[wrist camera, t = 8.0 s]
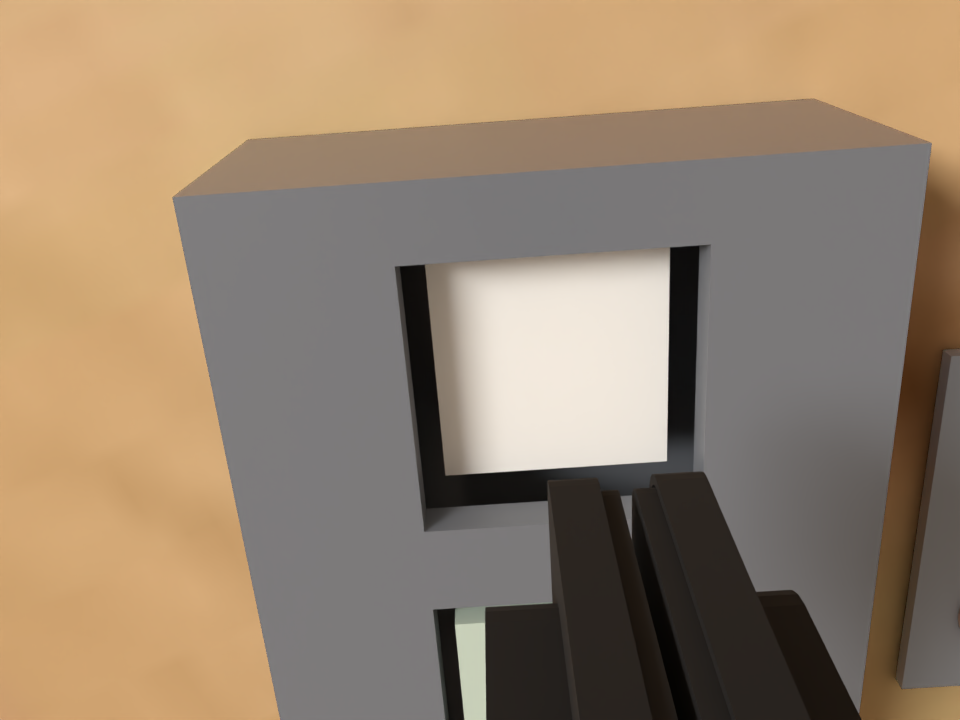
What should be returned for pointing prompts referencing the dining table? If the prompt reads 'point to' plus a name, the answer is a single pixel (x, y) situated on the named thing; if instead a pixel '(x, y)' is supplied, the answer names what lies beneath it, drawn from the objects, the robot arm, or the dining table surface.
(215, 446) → the dining table surface
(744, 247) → the keypad housing
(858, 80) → the dining table surface
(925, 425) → the dining table surface
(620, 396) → the off-white key
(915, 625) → the card
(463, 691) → the sage key
